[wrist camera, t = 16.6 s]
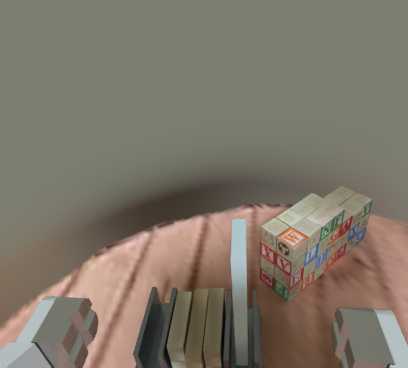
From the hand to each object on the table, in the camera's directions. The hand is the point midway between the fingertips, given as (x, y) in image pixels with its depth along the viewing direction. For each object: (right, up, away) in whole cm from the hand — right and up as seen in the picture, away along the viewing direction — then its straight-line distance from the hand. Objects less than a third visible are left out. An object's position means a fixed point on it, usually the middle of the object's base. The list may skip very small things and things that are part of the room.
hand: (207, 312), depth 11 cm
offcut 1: (-3, -18, +35) cm, 39 cm away
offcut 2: (-1, -18, +34) cm, 39 cm away
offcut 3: (+2, -18, +34) cm, 39 cm away
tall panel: (+5, -18, +34) cm, 38 cm away
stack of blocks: (+20, -9, +47) cm, 51 cm away
